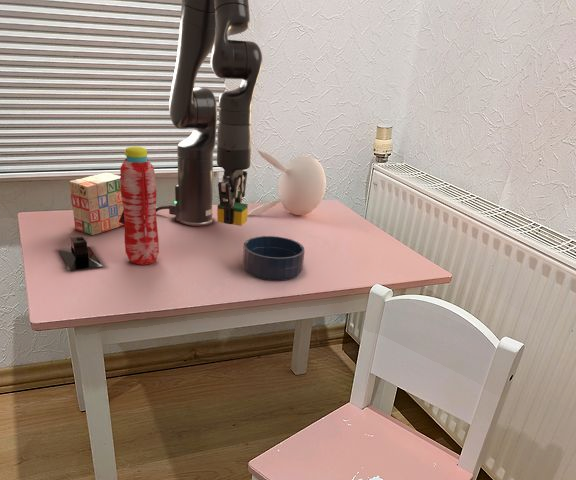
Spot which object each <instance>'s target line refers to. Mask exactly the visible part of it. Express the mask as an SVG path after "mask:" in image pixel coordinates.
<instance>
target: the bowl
mask: <svg viewBox="0 0 576 480" xmlns="http://www.w3.org/2000/svg"><path fill="white" fill-rule="evenodd" d="M242 246H243V247H242V267H243V270H244V271H245V272H246V273H247V274H248V275H250V276H252V277H255V278H257V279H261V280H266V281H273V282H274V281H275V282H277V281H278V282H279V281H280V282H281V281H289V280H293V279H295V278H297V277H299V275H301V274H302V272H303V270H304V262H305V261H304V260H305V250H306V249H305V247H304V245H303V244H301V243H300V242H298V241H296V240H294V239H291V238H287V237H282V236H276V235H275V236H274V235H263V236H262V235H260V236H255V237H250V238H249V239H246V240H244V242H243V245H242Z"/></svg>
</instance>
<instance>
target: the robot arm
mask: <svg viewBox="0 0 576 480" xmlns="http://www.w3.org/2000/svg"><path fill="white" fill-rule="evenodd" d="M250 15H251V14H250V5H249V0H181V9H180V21H179V22H180V23H179V35H178V45H177V52H176V53H177V54H176V61H175V68H174V72H173V78H172V82H171V83H172V84H171V89H170V95H169V96H170V97H169V116H170V121H171V122H172V125H173V126H174V127H175V128H176V129H179V130H193V131H192V133H191V134H190V135H189V136H188V137H187V138H185V139H183V140H181V141H180V142H179V143H178V144H177V148H176V152H177V153H176V155H177V184H175V187H174V196H175V200H174V201H173V202H172V203H170V204H169V205H162V206H158V207H156V213H157V212H159V211H161V210H169V211H168V213H169V215H172V216H175V222H179V223H181V224H183V225H186V226H191V227H192V226H193V227H204V226H208V225H210V224H212V223H213V219H214V218H213V196H214V195H213V193H214V191H213V189H214V188H213V187H214V184H213V182H214V180H213V179H214V150H215V147H216V165H217V167H219V168H222V169H223V175H222V178H221V179H222V180H221V181H218V183H217V190H218V201H219V204H220V207H224V223H223V224H226V225H232V224H233V222H234V203H235V202H237V203H242V202H243V198H245V196H246V189H247V180H248V171H246V170H248V169H249V168H250V167H251V156H252V124H251V123H252V110H253V109H252V107H253V106H252V105H253V100H254V94H255V91H256V87H257V83H258V80H259V77H260V74H261V72H262V71H261V70H262V66H263V54H262V50H261V48H260V46H259V45H258V43H256V42H254V41H251V40H239V39H238V40H237V39H229V37H231V36H235V35H239V34H242V33H245V32H246V31H247V30H248V29H249V27H250V24H251V16H250ZM209 54H210V67H211V69H212V72H213V73H214V75H215V76H216V77H217V78H219V79H223V80H224V79H225V80H241V83H240V84H239V85H238V87H237V88H235V89H231V90H227V91H223V92H221V93H220V95H219V97H218V104H217V100H216V96H215V94H214V92H213V91H212V90H211V89H210V88H207V87H195V84H196V80H197V76H198V73H199V70H200V69H201V66H202V65H203V64H204V62H205V60H206V59H207V57H208V56H209ZM217 123H218V125H217ZM216 138H217V139H216ZM227 201H228V202H227Z"/></svg>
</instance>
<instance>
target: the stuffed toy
mask: <svg viewBox="0 0 576 480" xmlns="http://www.w3.org/2000/svg"><path fill="white" fill-rule="evenodd" d="M257 152H258V153H259V155H260V157H261V158H263V159H264V160H265V161H266V162H267V163H269V164H270V165H271V166H273V167H274V168H276V169H277V170H279V171H281V174H280V175H279V178H278V179H279V180H278V186H277V193H278V197H279V199H274V200H270V201H268V202H265V203H263V204H262V205H259V206H257V207H255V208H252V210H250V211H249V212H247V216H256V215H260V214H262V213H264V212H266V211H268V210H270V209H272V208H273V207H275V206H277V205H278V204H280V203H281V205H282V207H283V208H284V209H285V210H286V211H287V212H288V213H289V214H292V215H295V216H305V215H309V214H310V213H311V212H313V211H314V210H316V209H317V207H318V206H319V205H320V203H321V202H322V200H323V197H324V196H325V193H327V194H329V195H330V194H331V192H332V191H331V190H328V191H326V188H327V177H326V172H325V170H324V168H323V165H322V164H321V163H320V162H319V161H318V160H317V159H316V158H314V157H312V156H310V155H299V156H296V157H294V158H292V159H291V160H290V161H289V162H288V163H286V165H285V166H284V165H283V163H282V162H280V160H278V159H277V158H276V157H275V156H274V155H272V154H271V153H269V152H266V151H263V150H257Z"/></svg>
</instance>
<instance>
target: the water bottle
mask: <svg viewBox="0 0 576 480" xmlns="http://www.w3.org/2000/svg"><path fill="white" fill-rule="evenodd" d="M124 155H125V157H126V158H125V159H124V160H123V162H122V164H121V166H120V169H119V171H120V172H119V173H120V175H119V176H120V185H121V196H122V202H123V208H124V210H123V213H122V215H121V217H120V220H119V222H120V223H122V224H125V225H124V249H125V255H126V256H127V258H128V260H129V262H130V263H132V264H136V265H140V266H144V265H146V266H147V265H151V264H153V263H154V262H156V261H157V258H158V256H159V253H160V245H159V232H158V223H157V212H156V208H157V180H156V173H155V168H154V165H153V164H152V163H151V161H150V159H148V149H147V148H146V147H142V146H128V147H126V148H125V152H124Z"/></svg>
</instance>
